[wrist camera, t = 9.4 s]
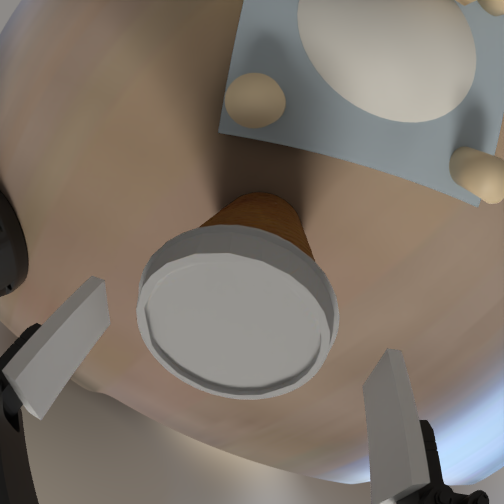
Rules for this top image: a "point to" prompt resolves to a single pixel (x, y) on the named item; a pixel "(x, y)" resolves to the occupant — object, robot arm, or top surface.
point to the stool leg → (465, 2)
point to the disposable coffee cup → (239, 302)
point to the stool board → (376, 86)
